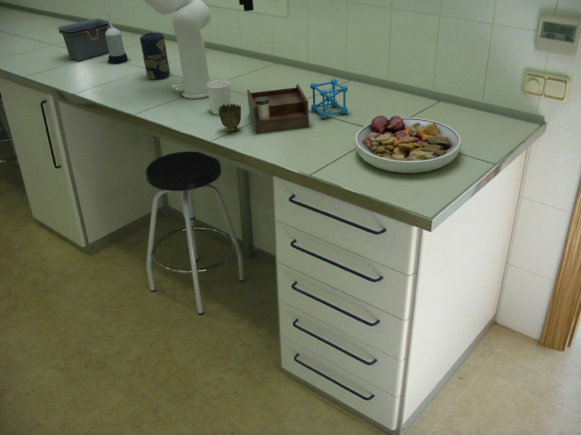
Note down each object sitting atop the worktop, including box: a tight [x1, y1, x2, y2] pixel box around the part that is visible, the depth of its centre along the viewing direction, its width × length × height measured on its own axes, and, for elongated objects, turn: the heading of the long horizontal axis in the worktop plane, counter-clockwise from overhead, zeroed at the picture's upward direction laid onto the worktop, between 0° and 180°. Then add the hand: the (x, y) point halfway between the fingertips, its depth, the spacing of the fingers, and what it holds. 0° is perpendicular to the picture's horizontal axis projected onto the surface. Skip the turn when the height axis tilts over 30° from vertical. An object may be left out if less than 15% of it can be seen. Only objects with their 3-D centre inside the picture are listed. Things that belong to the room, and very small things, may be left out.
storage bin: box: [57, 18, 110, 62], centre depth 272 cm, size 21×16×14 cm
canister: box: [139, 32, 171, 80], centre depth 241 cm, size 10×10×18 cm
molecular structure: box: [309, 78, 349, 120], centre depth 201 cm, size 10×10×10 cm
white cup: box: [207, 79, 231, 115], centre depth 207 cm, size 8×8×10 cm
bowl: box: [354, 115, 462, 174], centre depth 172 cm, size 30×30×8 cm
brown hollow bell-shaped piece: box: [218, 102, 242, 133], centre depth 193 cm, size 8×7×8 cm
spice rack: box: [246, 83, 310, 135], centre depth 197 cm, size 18×16×9 cm
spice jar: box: [255, 97, 270, 121], centre depth 191 cm, size 4×4×7 cm
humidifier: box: [104, 2, 129, 65], centre depth 260 cm, size 8×8×25 cm
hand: (246, 7), depth 203 cm, fingers open, 9 cm apart
